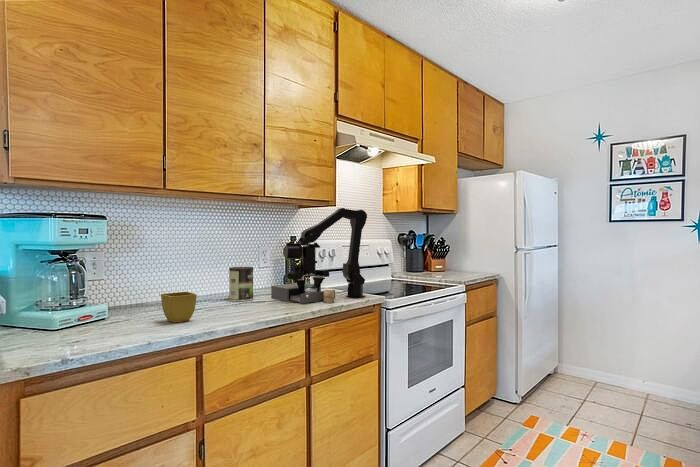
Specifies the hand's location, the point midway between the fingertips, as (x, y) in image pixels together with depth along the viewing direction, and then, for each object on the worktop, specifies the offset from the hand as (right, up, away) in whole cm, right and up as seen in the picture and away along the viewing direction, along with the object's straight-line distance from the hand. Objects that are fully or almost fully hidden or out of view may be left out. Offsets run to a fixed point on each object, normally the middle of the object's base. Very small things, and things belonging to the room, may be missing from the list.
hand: (308, 294), depth 173 cm
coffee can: (-30, -3, +1) cm, 30 cm away
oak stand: (+9, -2, -5) cm, 11 cm away
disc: (0, +2, 0) cm, 2 cm away
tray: (0, -2, 0) cm, 2 cm away
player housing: (-6, -2, +7) cm, 9 cm away
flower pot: (-39, -3, -41) cm, 56 cm away
